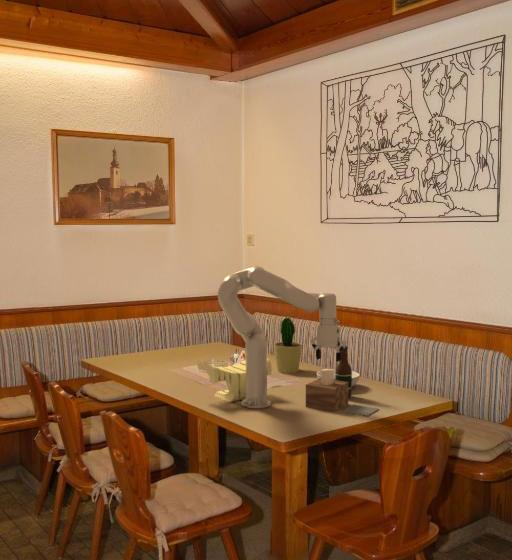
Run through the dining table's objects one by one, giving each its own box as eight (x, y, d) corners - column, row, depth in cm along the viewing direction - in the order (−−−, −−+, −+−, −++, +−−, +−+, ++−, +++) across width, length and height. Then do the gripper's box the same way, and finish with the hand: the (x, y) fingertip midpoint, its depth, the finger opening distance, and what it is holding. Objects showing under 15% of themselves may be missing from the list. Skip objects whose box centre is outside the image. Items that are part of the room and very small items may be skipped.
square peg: (329, 398, 289) (329, 371, 288) (321, 396, 291) (321, 370, 290) (333, 396, 292) (333, 369, 291) (325, 394, 294) (325, 368, 293)
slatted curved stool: (215, 406, 290) (214, 367, 289) (198, 398, 304) (198, 360, 302) (271, 396, 307) (271, 359, 305) (253, 389, 320) (253, 353, 318)
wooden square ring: (334, 411, 282) (334, 388, 281) (305, 406, 290) (305, 384, 289) (348, 404, 294) (348, 382, 293) (320, 399, 301) (320, 378, 301)
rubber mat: (367, 416, 275) (367, 415, 275) (341, 412, 281) (341, 411, 281) (378, 409, 285) (378, 408, 285) (353, 405, 292) (353, 404, 291)
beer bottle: (340, 393, 312) (341, 343, 309) (354, 396, 307) (355, 345, 304) (331, 397, 306) (332, 346, 303) (346, 399, 301) (346, 348, 298)
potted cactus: (301, 374, 350) (301, 319, 347) (272, 373, 352) (272, 318, 350) (303, 368, 365) (303, 314, 362) (276, 367, 368) (275, 314, 365)
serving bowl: (358, 393, 312) (358, 379, 311) (314, 391, 316) (314, 377, 315) (360, 383, 332) (360, 369, 332) (318, 381, 336) (319, 367, 336)
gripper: (349, 321, 287) (350, 360, 288) (314, 319, 296) (315, 356, 298) (342, 324, 281) (342, 363, 282) (306, 321, 290) (307, 359, 291)
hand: (328, 360), depth 290 cm, fingers open, 9 cm apart
